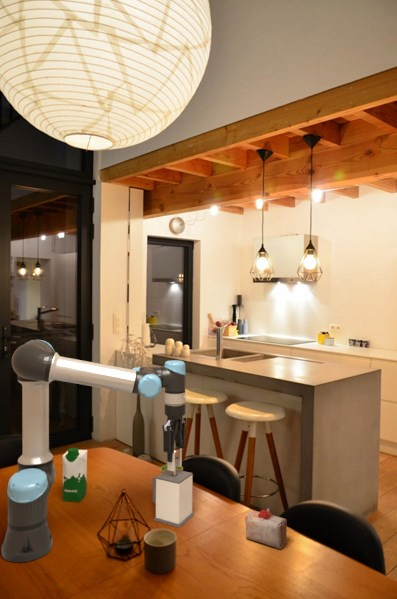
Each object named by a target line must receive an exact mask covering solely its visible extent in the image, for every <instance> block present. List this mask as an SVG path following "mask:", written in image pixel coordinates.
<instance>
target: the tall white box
mask: <svg viewBox="0 0 397 599" xmlns="http://www.w3.org/2000/svg"><path fill="white" fill-rule="evenodd" d="M152 502H153V503H155V517H154V518H153V521H155V522H157V523H161V524H164V525H169V526H172V527H175V528H181V527H182V526H183V525H184V524H186V523H187V522H188V521H189V520H190V519H191V518H192V517H194V512H193V472H190V471H189V472H188V471H185V470H182V471H181V470H176V476H173V471H170V470H166V471H165V472H163V473H162V472H161V473H160V474H159V475H156V476H153V478H152Z"/></svg>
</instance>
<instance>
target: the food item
mask: <svg viewBox="0 0 397 599" xmlns="http://www.w3.org/2000/svg"><path fill="white" fill-rule="evenodd" d="M244 522H245V539H246V540H249V541H251V542H252V541H253V542H257V543H259V544H262V545H266V546H269V547H272V548H275V549H279V550H282V549H284V546H286V544H287V538H288V537H287V531H288V530H287V528H288V527H287V522H288V520H287V519H286V518H283V517H280V516H277V515H274V514H273V513H272V512H271V511H270V508H269V507H268V508H267V509H265V508H264V509H262V510H260V511H257V510H254V509H253V510H252V509H251V510H250V511H248V512H247V513H246V514H245V516H244Z"/></svg>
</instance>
